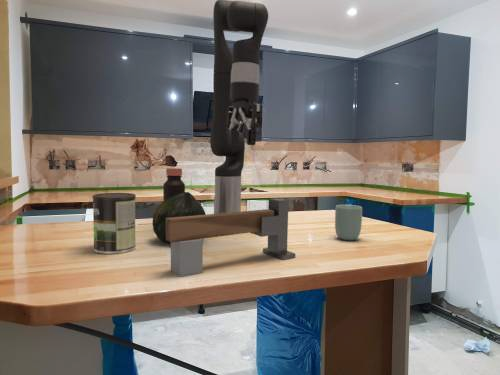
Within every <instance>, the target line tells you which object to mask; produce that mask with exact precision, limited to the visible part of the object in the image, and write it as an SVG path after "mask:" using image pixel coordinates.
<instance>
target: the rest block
mask: <svg viewBox="0 0 500 375" xmlns="http://www.w3.org/2000/svg"><path fill="white" fill-rule="evenodd" d="M203 242H204V241H203V239H196V240H188V241H180V242H172V243H171V242H170V271H171V270H172V271H171V272H172V273H174V272H175V274H176V275H177V274H178V275H177V276H178V277H180V276H182V277H186V276H185V275H187V276H192V275H197V273H198V274H202V273H203V272H204V271H203V270H204V268H203V267H204V266H203V263H204V262H203V254H204V253H203V252H204V251H203V249H204V248H203V245H204V244H203ZM191 274H192V275H191Z"/></svg>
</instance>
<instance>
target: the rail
mask: <svg viewBox="0 0 500 375" xmlns="http://www.w3.org/2000/svg"><path fill="white" fill-rule="evenodd" d="M267 216H274V211H272V210H269V209H267V208H266V209H256V210H244V211H242V210H241V212H230V213H219V214H214V213H209V214H208V213H206V215H196V216H185V217H173V218H166V240H167V241H169V242H170V244H171V243H172V242H180V241H188V240H196V239H202V240H203V239H211V238H219V237H224V236H225V237H226V236H234V235H242V234H248V233H249V234H251V233H250V232H258V231H260V217H267Z"/></svg>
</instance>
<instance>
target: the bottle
mask: <svg viewBox="0 0 500 375" xmlns="http://www.w3.org/2000/svg"><path fill="white" fill-rule="evenodd" d="M165 171H166V173H165V174H166V178H167V180H166V181H165V182H164V183H163V186H162V187H163V196H162V197H163V201H164V200H166V199H168V198H170V197H173V196H175V195H177V194H180V193H183V192H186V184H185V183H184V181H183V180H182V176H183V169H182V168H179V167H173V168H172V167H171V168H169V167H167V168H165ZM163 201H162V202H163Z"/></svg>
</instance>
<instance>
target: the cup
mask: <svg viewBox="0 0 500 375" xmlns="http://www.w3.org/2000/svg"><path fill="white" fill-rule="evenodd" d="M334 214H335V215H334V229H335V234H336V236H337V238H339V239H340V240H343V241H355V240H357V239H359V237H360V235H361V231H362V221H363V207H362V206H361V205H357V204H336V205H335V210H334Z"/></svg>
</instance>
